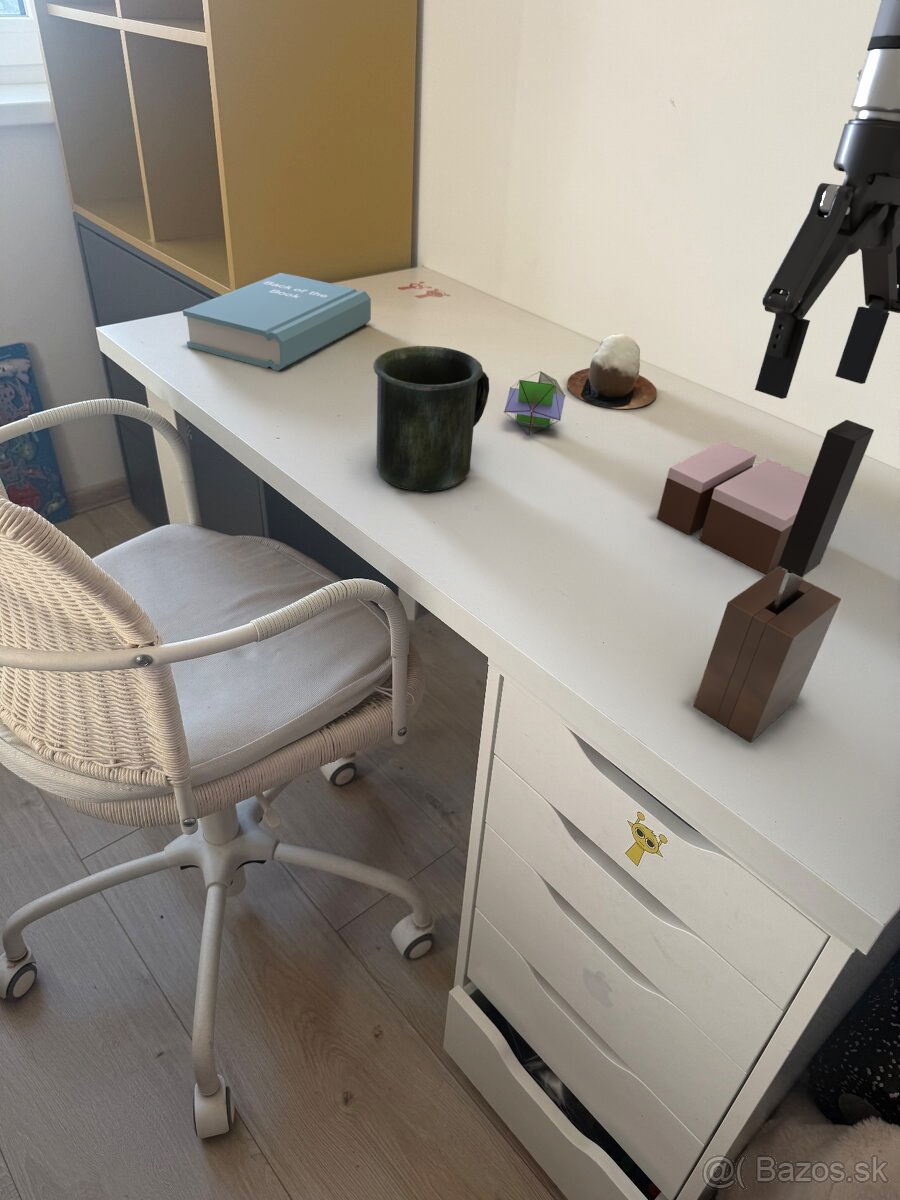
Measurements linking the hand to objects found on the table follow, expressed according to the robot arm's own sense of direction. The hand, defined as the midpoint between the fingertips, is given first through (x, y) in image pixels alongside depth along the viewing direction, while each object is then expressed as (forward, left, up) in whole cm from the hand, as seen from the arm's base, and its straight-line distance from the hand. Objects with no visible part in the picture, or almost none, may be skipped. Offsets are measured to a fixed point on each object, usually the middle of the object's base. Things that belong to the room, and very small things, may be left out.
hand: (812, 387), depth 76 cm
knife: (-27, +8, -15) cm, 32 cm away
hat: (+33, +13, -16) cm, 39 cm away
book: (+43, +60, -16) cm, 75 cm away
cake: (-2, +1, -15) cm, 16 cm away
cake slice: (+3, +6, -15) cm, 17 cm away
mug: (+7, +35, -16) cm, 39 cm away
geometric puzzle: (+19, +24, -16) cm, 34 cm away
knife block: (-27, +8, -15) cm, 32 cm away
